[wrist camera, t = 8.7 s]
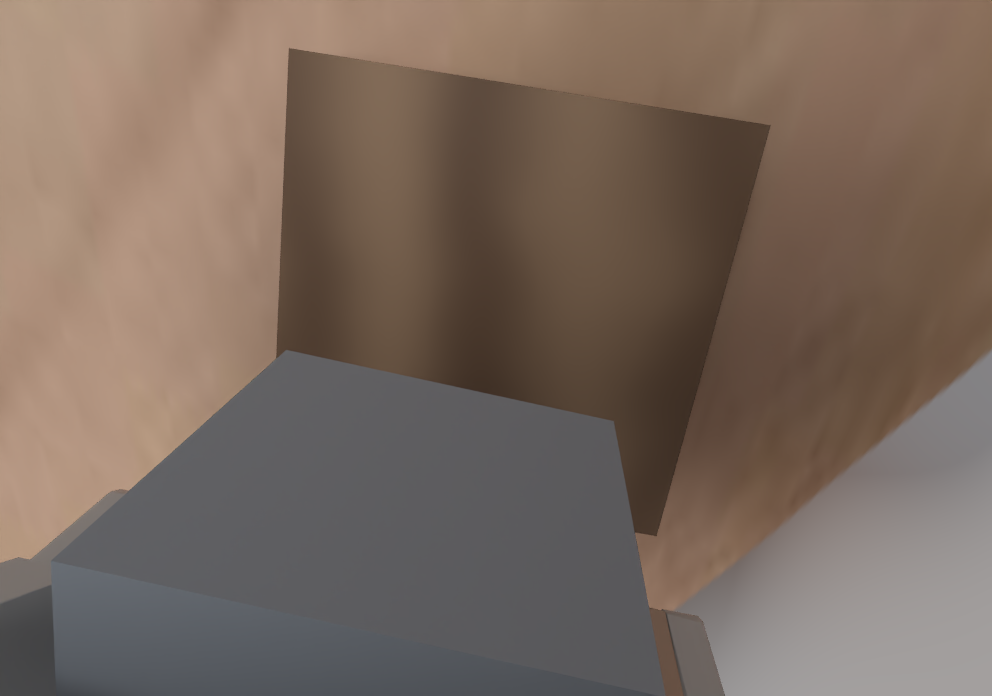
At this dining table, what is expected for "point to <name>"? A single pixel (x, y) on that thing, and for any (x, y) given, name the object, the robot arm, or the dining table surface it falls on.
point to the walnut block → (513, 244)
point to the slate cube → (364, 552)
